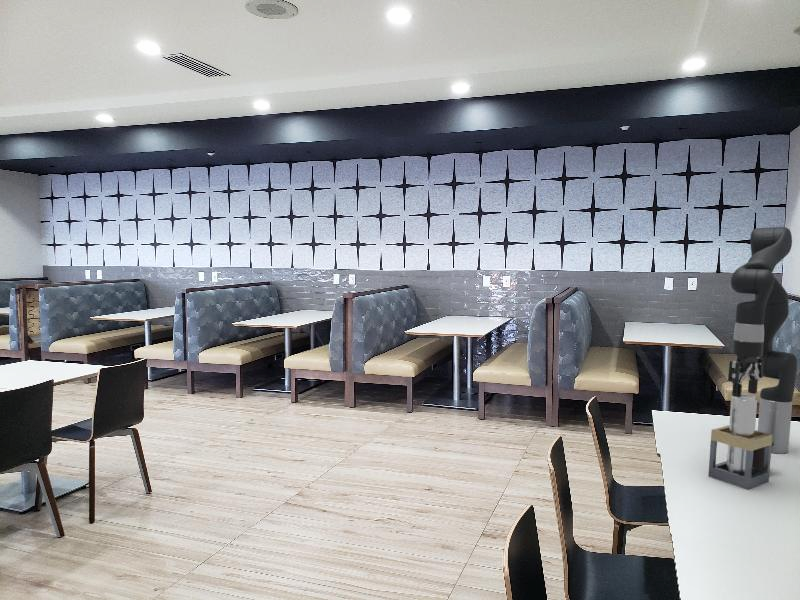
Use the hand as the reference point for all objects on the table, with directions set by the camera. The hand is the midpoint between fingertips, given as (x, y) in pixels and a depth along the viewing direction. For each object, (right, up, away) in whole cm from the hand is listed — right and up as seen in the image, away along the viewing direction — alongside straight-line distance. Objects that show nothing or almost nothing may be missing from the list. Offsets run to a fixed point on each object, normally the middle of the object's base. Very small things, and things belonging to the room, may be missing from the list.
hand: (744, 394), depth 176 cm
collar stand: (-1, -25, +2) cm, 25 cm away
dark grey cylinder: (+9, -25, +10) cm, 28 cm away
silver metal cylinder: (0, -25, +2) cm, 25 cm away
